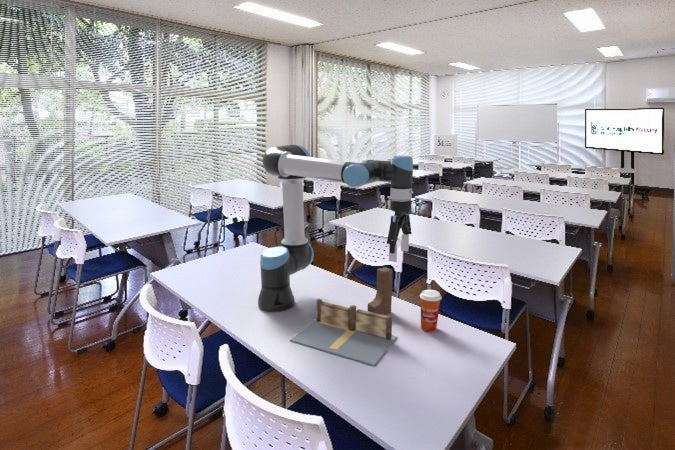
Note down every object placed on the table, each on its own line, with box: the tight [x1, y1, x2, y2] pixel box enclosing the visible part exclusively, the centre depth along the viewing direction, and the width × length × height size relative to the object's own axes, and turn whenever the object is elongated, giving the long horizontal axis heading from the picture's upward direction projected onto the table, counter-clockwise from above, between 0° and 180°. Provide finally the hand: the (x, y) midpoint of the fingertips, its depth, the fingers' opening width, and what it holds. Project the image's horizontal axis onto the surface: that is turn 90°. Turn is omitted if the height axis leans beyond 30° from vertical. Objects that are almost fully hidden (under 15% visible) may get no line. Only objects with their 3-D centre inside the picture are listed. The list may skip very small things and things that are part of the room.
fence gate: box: [356, 308, 393, 339], centre depth 147 cm, size 14×2×8 cm, turn 62°
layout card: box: [289, 318, 398, 367], centre depth 146 cm, size 32×20×1 cm, turn 62°
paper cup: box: [419, 289, 443, 333], centre depth 152 cm, size 8×8×14 cm
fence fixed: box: [316, 298, 357, 331], centre depth 154 cm, size 16×2×9 cm, turn 62°
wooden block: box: [367, 266, 394, 315], centre depth 163 cm, size 9×4×18 cm, turn 125°
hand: (398, 255), depth 153 cm, fingers open, 13 cm apart
